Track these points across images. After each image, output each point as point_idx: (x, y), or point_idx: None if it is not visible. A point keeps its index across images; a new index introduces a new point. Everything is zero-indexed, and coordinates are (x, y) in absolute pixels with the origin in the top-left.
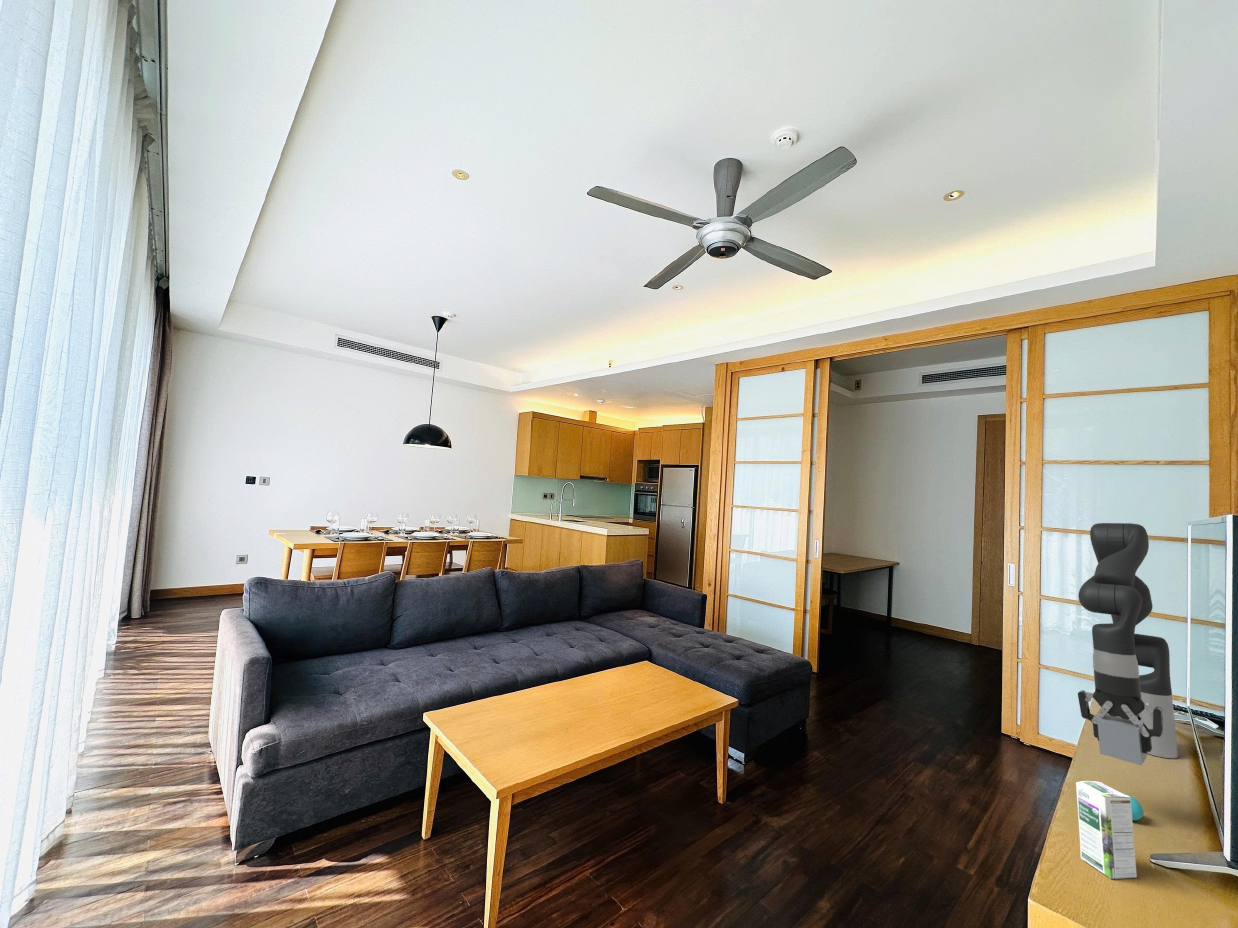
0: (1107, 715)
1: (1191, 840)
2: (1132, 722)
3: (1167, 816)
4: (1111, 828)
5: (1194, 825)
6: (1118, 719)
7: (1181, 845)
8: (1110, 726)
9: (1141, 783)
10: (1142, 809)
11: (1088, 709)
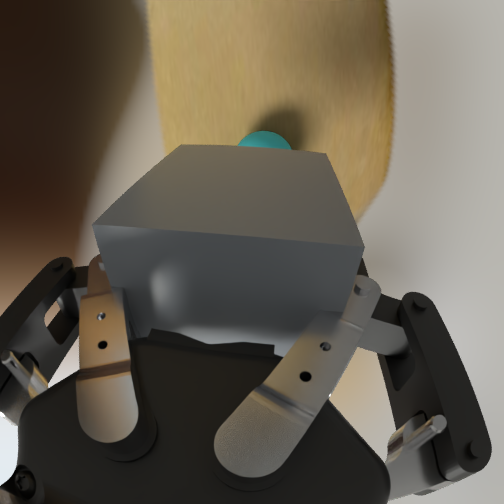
0: (123, 250)
1: (365, 160)
2: (287, 293)
3: (330, 64)
4: None
5: (374, 71)
6: (200, 293)
7: (347, 200)
8: None
9: None
10: None
11: (52, 303)
